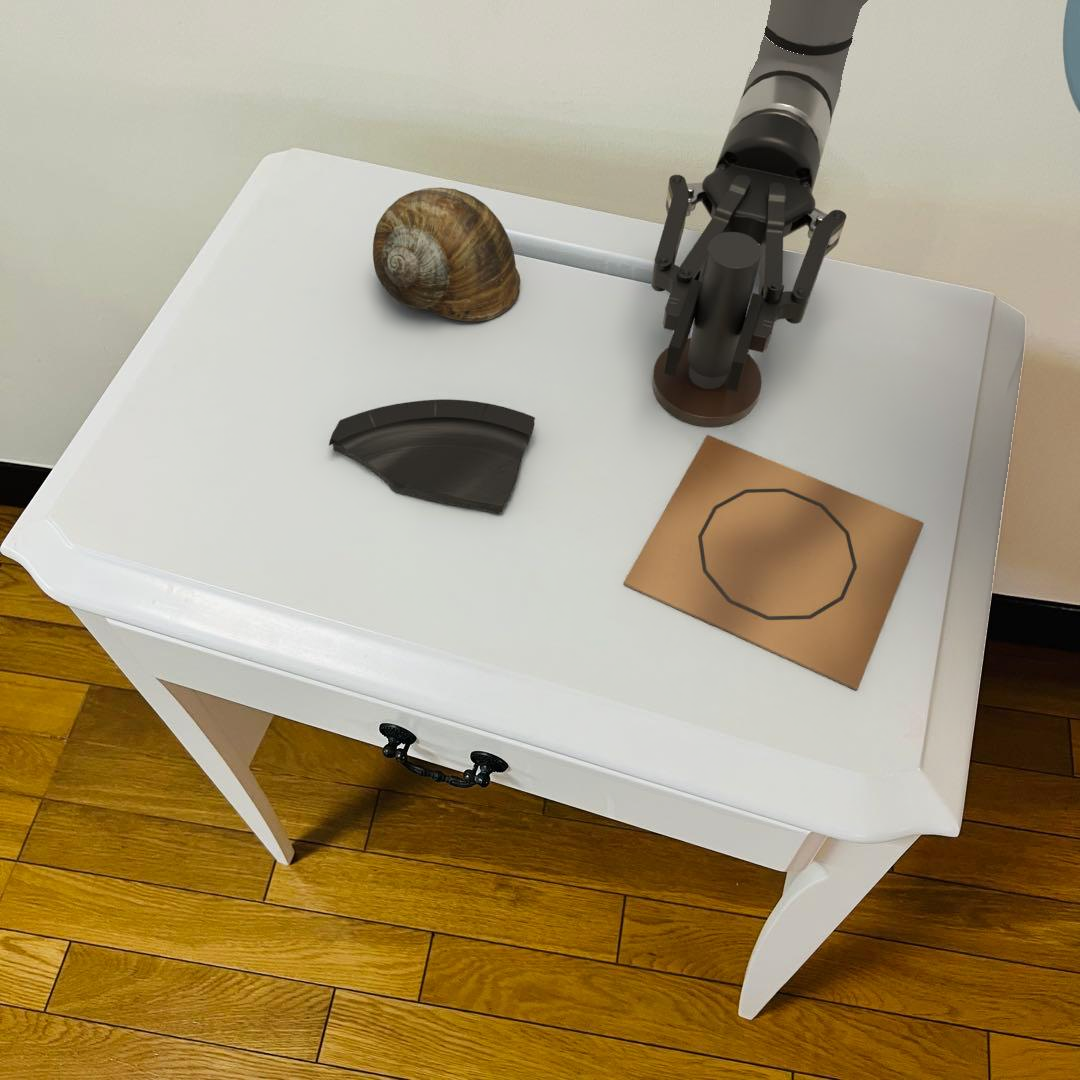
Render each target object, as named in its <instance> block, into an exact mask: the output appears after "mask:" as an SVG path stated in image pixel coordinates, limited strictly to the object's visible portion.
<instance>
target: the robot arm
mask: <svg viewBox="0 0 1080 1080" xmlns="http://www.w3.org/2000/svg"><path fill="white" fill-rule="evenodd" d="M867 1H868V0H771V5H770V11H769V15H768V20H767V26H766V28H765V33H764V34H765V35H764V37H763V40H762V42H761V45H760V51H759V54H758V59H757V61H756V62H755V65H754V67H753V69H752V70H751V72H750V71H749V73H750V74H749V73H748V76H749V77H748V76H747V79H746V81H745V86H744V89H743V92H742V95H741V97H740V99H739V102H738V104H737V107H736V109H735V112H734V115H733V118H732V120H731V122H730V125H729V127H728V128H729V129H728V132H727V135H726V137H725V140H724V143H723V145H722V148H721V151H720V154H719V156H718V159H717V161H716V165H715V167H714V170H713V171H712V172H710V173H709V174H708V175H707V176H705V177H704V179H703V180H702V182H691V183H687V180H686V178H685V177H684V176H683V175H681V174H673V175H671V176H670V177H669V179H668V185H667V191H666V201H665V210H666V214H667V215H666V218H665V222H664V225H663V229H662V233H661V236H660V239H659V242H658V246H657V250H656V254H655V257H654V263H653V270H652V278H651V289H653V290H654V291H656V292H665V291H666V292H667V293H669V295H668V300H667V302H666V305H665V307H664V312H663V313H664V314H663V319H662V320H663V321H662V325H663V329H664V330H669V331H673V332H672V336H671V338H670V341H669V345H668V347H669V348H668V347H667V348H668V354H667V360H666V366H665V372H664V374H668V375H672V376H675V375H676V372H677V369H678V366H679V363H680V360H681V357H682V354H683V351H684V348H685V345H686V342H687V339H688V338H689V336H690V333H691V332H692V331H691V330H692V329H693V325H694V320H695V314H696V309H697V304H698V299H699V293H700V288H701V283H702V278H703V272H704V267H705V262H706V257H707V251H708V246H709V243H710V241H711V240H712V239H713V238H714V237H715V236H717V235H719V234H721V233H725V232H739V233H743V234H746V235H748V236H750V237H752V238H753V239H754V240H756V242H757V243H758V244H759V246H760V248H761V257H760V261H759V270H758V271H759V273H758V274H759V276H758V293H754V292H752V294H751V298H750V302H749V306H748V310H747V314H746V318H745V321H744V325H743V328H742V331H741V334H740V338H739V341H738V344H737V348H736V351H735V354H734V358H733V361H732V365H731V369H730V373H729V378H728V382H727V386H726V389H728V390H732V391H736V392H737V389H738V386H739V382H740V379H741V375H742V372H743V368H744V365H745V362H746V358H747V355H748V354H749V351H754V352H757V353H764V352H765V351H766V350H767V349H768V347H769V343H770V340H771V335H772V332H773V329H774V325H775V323H776V322H777V321H780V320H786V321H787V322H788V323H790V324H799V323H801V322H802V320H803V318H804V315H805V312H806V310H807V307H808V304H809V301H810V298H811V295H812V293H813V290H814V287H815V284H816V282H817V278H818V276H819V273H820V270H821V267H822V265H823V262H824V259H825V257H826V256H827V255H828V254H829V253H831V251H832V250H833V249H834V248H835V247H836V246H837V245H838V244H839V241H840V238H841V235H842V232H843V229H844V226H845V223H846V220H847V214H846V212H845V211H843V210H841V209H832V210H831V211H830V212H828V213H826V212H824V211H822V210H821V209H819V208H816V200H815V197H814V195H813V190H814V187H815V184H816V179H817V177H818V172H819V169H820V165H821V160H822V157H823V153H824V150H825V147H826V144H827V140H828V137H829V133H830V130H831V123H832V118H833V115H834V112H835V109H836V106H837V103H838V100H839V97H840V94H841V90H840V87H841V80H842V74H843V70H844V66H845V62H846V58H847V55H848V51H849V47H850V45H851V43H852V39H853V38H852V37H853V36H852V35H853V32H854V29H855V26H856V23H857V19H858V16H859V12H860V9H861V8H862V6H863V5H864V4H865V3H866V2H867ZM1062 29H1063V30H1062V57H1063V67H1064V73H1065V78H1066V82H1067V86H1068V90H1069V93H1070V96H1071V99H1072V101H1073V103H1074V106H1075V107H1076V109H1077V111H1078V113H1079V114H1080V0H1066V5H1065V12H1064V19H1063V28H1062ZM765 36H766V37H767V38H768V39H769V40H770V41H769V40H768V39H767V38H766V37H765ZM771 41H772V42H773V43H774V44H773V43H772V42H771ZM776 45H777V46H776ZM780 47H781V48H780ZM782 48H783V49H782ZM787 50H788V51H787ZM790 51H791V52H790ZM793 52H794V53H793ZM797 53H798V54H797ZM803 54H804V55H803ZM839 93H840V94H839ZM700 202H701V203H702V205H703V206H704V208H705V210H706V212H707V214H708V215H709V217H710V221H709V222H708V224H707V226H706V227H705V229H704V230H703V231H702V232H701V235H700V236H699V238H698V239H697V241H696V242H695V243H694V245H693V246H692V248H691V250H690V251H689V253H688V254H687V255H686V257H685V259H684V260H683V262H682V263H681V264H680V266H678V265H676V264H675V263H676V260H677V255H678V252H679V248H680V244H681V241H682V237H683V234H684V230H685V226H686V218H687V217H689V216H691V212H693V211H694V210H695V209H696V207H697V204H698V203H700ZM806 226H807V227H808V230H807V238H809V244H808V247H807V250H806V252H805V254H804V258H803V261H802V263H801V265H800V269H799V271H798V274H797V277H796V280H795V283H794V285H793V287H792V290H790V291H784V288H785V284H783V275H784V274H783V269H784V238H785V237H787V236H789V235H791V234H793V233H794V232H796V231H798V230H800V229H802V228H804V227H806Z"/></svg>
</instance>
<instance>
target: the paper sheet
mask: <svg viewBox="0 0 1080 1080" xmlns="http://www.w3.org/2000/svg"><path fill="white" fill-rule="evenodd" d="M923 525H924V521H921V520H918V519H915V518H914V517H911V516H909V515H906V514H904V513H901V512H899V511H896V510H894V509H891V508H889V507H886V506H884V505H882V504H879V503H876V502H874V501H873V500H869V499H867V498H864V497H862V496H860V495H857V494H854V493H852V492H849V491H848V490H845V489H842V488H840V487H838V486H835V485H833V484H830V483H828V482H825V481H822V480H820V479H818V478H815V477H813V476H810V475H807V474H805V473H803V472H801V471H798V470H795V469H793V468H791V467H788V466H786V465H783V464H781V463H778V462H776V461H773V460H771V459H768V458H766V457H763V456H761V455H758V454H756V453H754V452H751V451H749V450H747V449H744V448H742V447H739V446H736V445H734V444H731V443H729V442H726V441H724V440H722V439H719V438H717V437H715V436H712V435H709V434H707V435H706V436H705V438H704V440H703V441H702V443H701V445H700V447H699V449H698V450H697V452H696V454H695V455H694V457H693V458H692V461H691V463H690V464H689V466H688V468H687V469H686V471H685V473H684V475H683V476H682V478H681V480H680V481H679V484H678V485H677V487H676V489H675V491H674V493H673V494H672V496H671V498H670V500H669V501H668V503H667V505H666V507H665V509H664V510H663V512H662V514H661V516H660V517H659V519H658V521H657V522H656V524H655V527H654V528H653V529H652V532H651V533H650V535H649V537H648V539H647V541H646V542H645V544H644V546H643V547H642V549H641V551H640V553H639V555H637V556H638V557H637V558H636V559H635V562H634V563H633V565H632V567H631V569H630V571H629V572H628V574H627V576H626V577H625V580H624V581H623V586H625V587H628V588H630V589H632V590H634V591H636V592H639V593H641V594H643V595H645V596H647V597H650V598H652V599H654V600H656V601H658V602H661V603H663V604H665V605H667V606H669V607H672V608H674V609H677V610H678V611H681V612H682V613H685V614H687V615H689V616H692V617H694V618H696V619H698V620H700V621H703V622H704V623H707V624H709V625H711V626H713V627H716V628H718V629H720V630H723V631H724V632H726V633H728V634H731V635H734V636H736V637H738V638H740V639H742V640H744V641H747V642H749V643H751V644H752V645H755V646H757V647H760V648H762V649H764V650H766V651H769V652H770V653H773V654H775V655H777V656H779V657H782V658H783V659H786V660H787V661H791V662H793V663H795V664H797V665H799V666H802V667H804V668H806V669H808V670H810V671H812V672H815V673H817V674H819V675H822V676H824V677H826V678H828V679H830V680H832V681H835V682H837V683H839V684H841V685H843V686H846V687H848V688H850V689H852V690H855V691H857V690H858V689H859V687H860V684H861V681H862V679H863V677H864V674H865V671H866V669H867V666H868V664H869V662H870V659H871V657H872V655H873V651H874V648H875V647H876V644H877V641H878V639H879V637H880V634H881V631H882V630H883V626H884V624H885V621H886V619H887V617H888V614H889V612H890V609H891V606H892V603H893V602H894V599H895V597H896V594H897V591H898V589H899V586H900V583H901V581H902V579H903V576H904V573H905V571H906V568H907V566H908V563H909V561H910V558H911V556H912V553H913V551H914V548H915V546H916V544H917V541H918V538H919V535H920V533H921V531H922V528H923Z"/></svg>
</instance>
